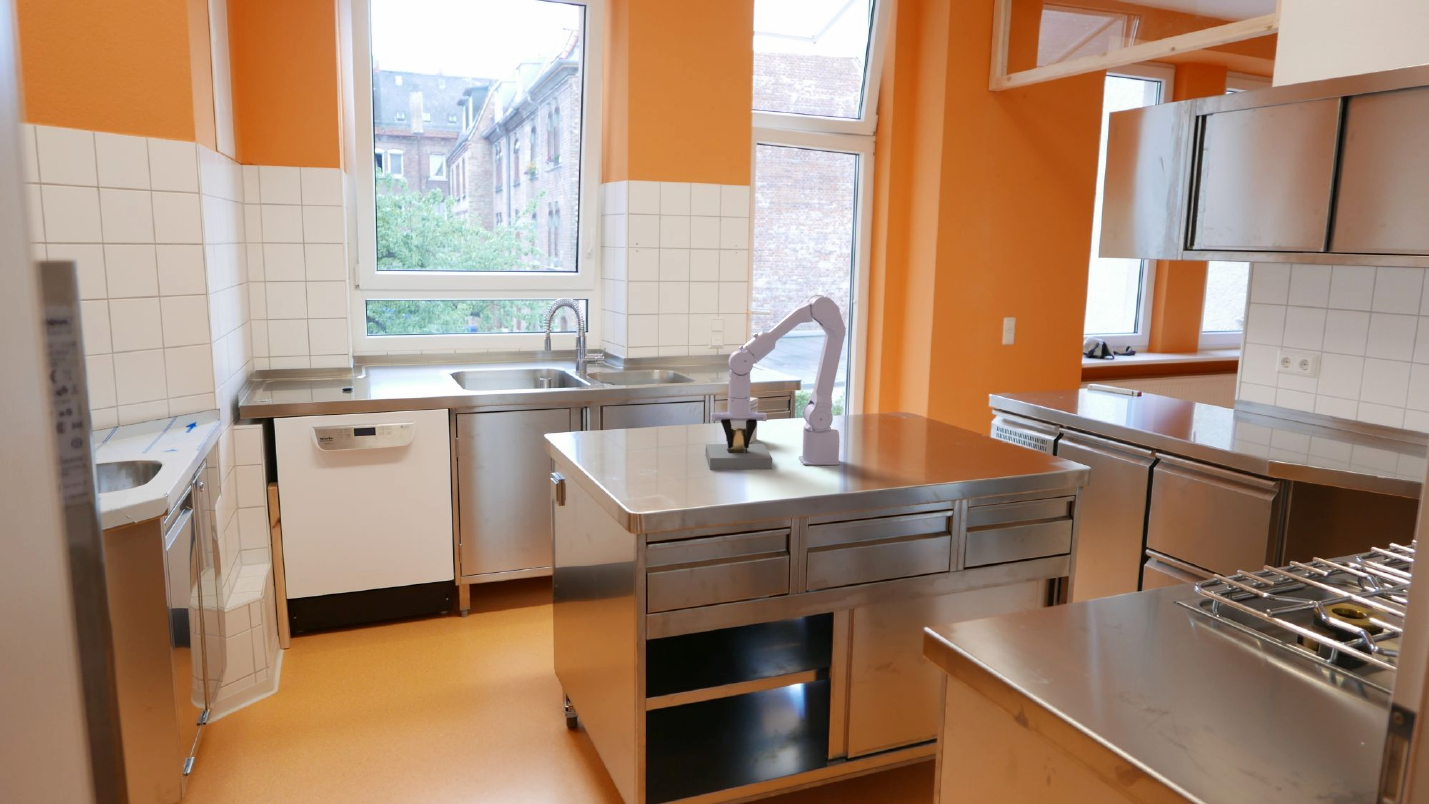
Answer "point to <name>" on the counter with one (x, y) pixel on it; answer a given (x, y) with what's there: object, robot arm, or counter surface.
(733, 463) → the jig block
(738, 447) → the brass sleeve
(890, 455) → the counter surface
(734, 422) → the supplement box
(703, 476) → the counter surface
